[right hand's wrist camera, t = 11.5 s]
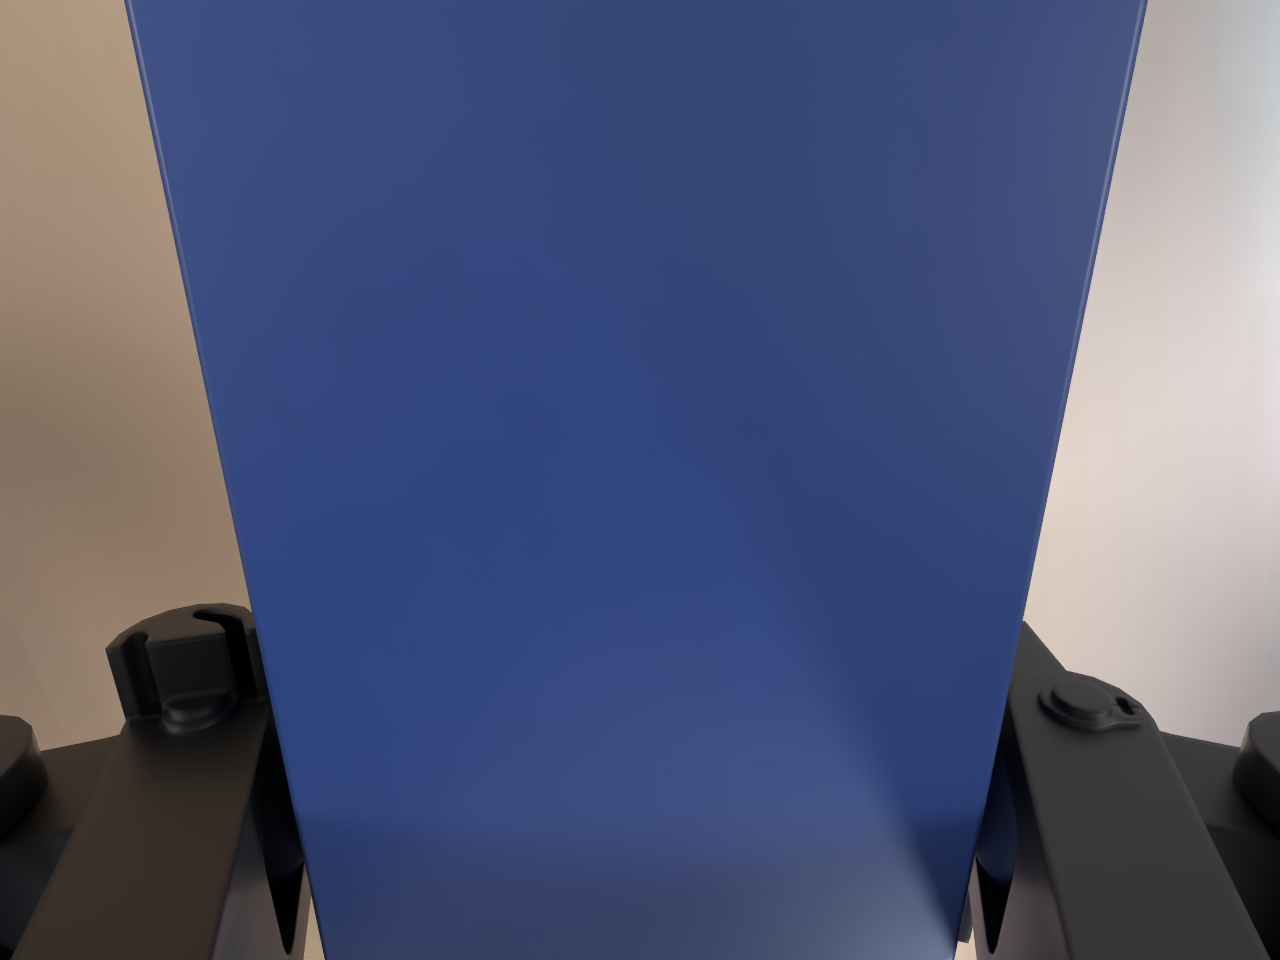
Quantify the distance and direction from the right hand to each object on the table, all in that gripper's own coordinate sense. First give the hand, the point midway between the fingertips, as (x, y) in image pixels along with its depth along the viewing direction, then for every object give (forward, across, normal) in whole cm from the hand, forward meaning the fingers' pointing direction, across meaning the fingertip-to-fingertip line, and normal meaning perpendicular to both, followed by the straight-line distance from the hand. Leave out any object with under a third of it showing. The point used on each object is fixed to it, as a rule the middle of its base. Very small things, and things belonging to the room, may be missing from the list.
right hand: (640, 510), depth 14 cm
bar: (+1, 0, -14) cm, 14 cm away
